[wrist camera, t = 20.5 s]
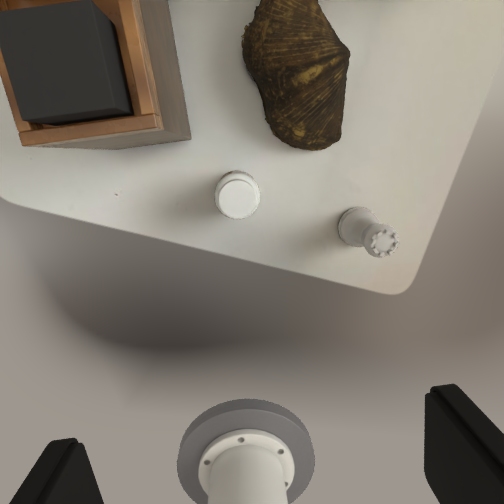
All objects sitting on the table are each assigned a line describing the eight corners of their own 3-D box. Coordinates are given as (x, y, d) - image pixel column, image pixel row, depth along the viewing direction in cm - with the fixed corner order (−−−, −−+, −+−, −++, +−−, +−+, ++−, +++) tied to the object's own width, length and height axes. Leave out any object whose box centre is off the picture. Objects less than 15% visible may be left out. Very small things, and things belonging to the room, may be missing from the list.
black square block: (134, 115, 21) (115, 107, 18) (55, 126, 21) (21, 120, 18) (115, 24, 20) (90, -3, 17) (30, 36, 20) (-12, 11, 17)
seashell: (363, 134, 36) (373, 138, 29) (281, 163, 38) (275, 172, 32) (318, -45, 31) (319, -88, 24) (228, 1, 33) (208, -27, 27)
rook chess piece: (365, 249, 40) (396, 272, 32) (330, 237, 39) (353, 257, 31) (382, 214, 39) (418, 229, 31) (346, 200, 38) (374, 212, 30)
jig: (191, 139, 36) (157, 127, 20) (114, 149, 35) (21, 146, 20) (164, -20, 32) (95, -184, 16) (77, -8, 32) (-74, -161, 16)
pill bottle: (220, 167, 36) (216, 170, 29) (260, 174, 37) (266, 179, 29) (214, 207, 38) (209, 220, 30) (253, 213, 38) (257, 228, 31)
